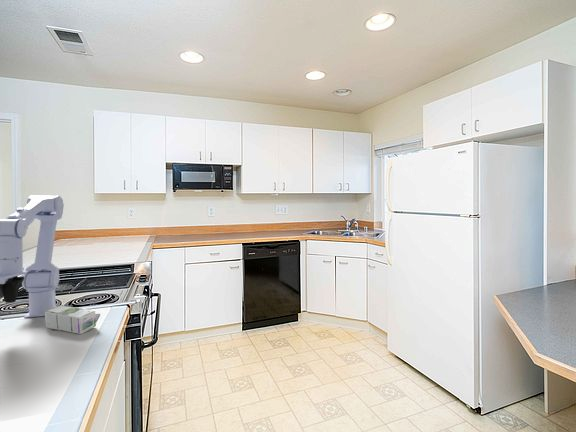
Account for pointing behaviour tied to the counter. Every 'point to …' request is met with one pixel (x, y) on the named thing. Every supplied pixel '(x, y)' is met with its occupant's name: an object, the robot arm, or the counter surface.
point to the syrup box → (70, 319)
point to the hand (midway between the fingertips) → (10, 302)
